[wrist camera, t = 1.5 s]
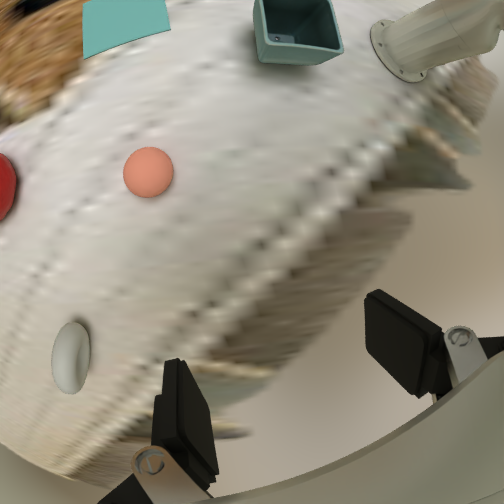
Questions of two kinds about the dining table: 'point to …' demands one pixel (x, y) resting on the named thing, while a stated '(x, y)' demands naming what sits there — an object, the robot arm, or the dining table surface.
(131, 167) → the ball
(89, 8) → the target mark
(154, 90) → the dining table surface
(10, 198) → the pomegranate
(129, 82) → the dining table surface
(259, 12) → the flower pot
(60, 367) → the donut
